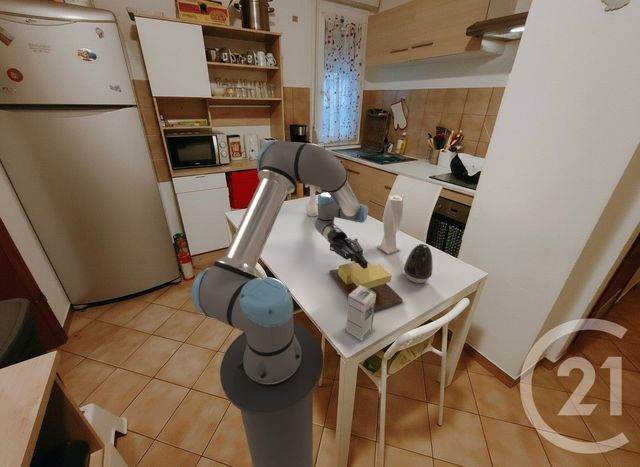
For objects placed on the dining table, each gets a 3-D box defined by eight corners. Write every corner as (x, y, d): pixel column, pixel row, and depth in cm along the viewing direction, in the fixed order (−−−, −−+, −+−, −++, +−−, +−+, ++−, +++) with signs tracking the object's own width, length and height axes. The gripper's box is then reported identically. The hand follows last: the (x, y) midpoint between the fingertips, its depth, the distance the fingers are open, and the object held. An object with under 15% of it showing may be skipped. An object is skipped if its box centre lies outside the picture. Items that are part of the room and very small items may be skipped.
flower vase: (310, 222, 147) (310, 178, 135) (297, 211, 162) (296, 170, 150) (330, 218, 152) (332, 176, 141) (316, 207, 167) (317, 168, 155)
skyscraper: (401, 251, 120) (411, 193, 107) (388, 256, 117) (397, 197, 104) (388, 244, 127) (396, 188, 114) (375, 248, 123) (382, 191, 110)
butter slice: (361, 290, 87) (361, 283, 86) (350, 278, 93) (351, 272, 91) (390, 282, 92) (391, 275, 90) (378, 271, 97) (379, 264, 96)
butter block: (346, 284, 97) (347, 276, 95) (337, 274, 102) (338, 265, 100) (373, 276, 101) (375, 268, 99) (364, 267, 107) (364, 259, 105)
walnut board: (362, 316, 85) (363, 312, 84) (329, 273, 105) (329, 270, 104) (402, 302, 91) (402, 299, 90) (363, 264, 111) (363, 261, 110)
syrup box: (361, 341, 76) (366, 303, 69) (345, 330, 79) (348, 293, 73) (372, 329, 80) (377, 292, 73) (355, 320, 83) (359, 283, 77)
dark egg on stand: (404, 285, 99) (411, 251, 92) (400, 269, 108) (406, 237, 101) (432, 288, 98) (442, 253, 91) (426, 271, 107) (434, 239, 100)
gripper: (348, 241, 116) (379, 269, 97) (321, 246, 112) (348, 278, 93) (349, 225, 113) (382, 252, 94) (321, 231, 108) (350, 260, 89)
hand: (365, 265), depth 93 cm, fingers closed
